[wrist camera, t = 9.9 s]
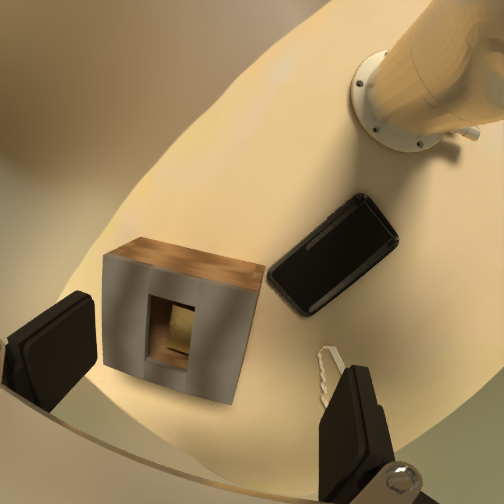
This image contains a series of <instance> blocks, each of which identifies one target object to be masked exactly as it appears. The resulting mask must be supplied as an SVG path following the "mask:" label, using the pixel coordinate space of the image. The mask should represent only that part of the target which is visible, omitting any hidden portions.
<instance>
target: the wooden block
mask: <svg viewBox="0 0 504 504" xmlns="http://www.w3.org/2000/svg"><path fill="white" fill-rule="evenodd" d="M194 314H195V307H194V306H190V305H186V304H183V303H179V302H175V303H174V304H173V307H172V313H171V319H170V325H169V331H168V337H167V344H166V346H167V347H170V348H173V349H176V350H178V351H181V352H184V353H187V354H189V350H190V343H191V335H192V328H193V321H194Z"/></svg>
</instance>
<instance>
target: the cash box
mask: <svg viewBox="0 0 504 504" xmlns="http://www.w3.org/2000/svg"><path fill="white" fill-rule="evenodd" d="M264 270H265V266H263V265H258V264H254V263H250V262H245V261H241V260H237V259H232V258H228V257H224V256H219V255H215V254H211V253H207V252H202V251H198V250H194V249H189V248H185V247H181V246H177V245H173V244H168V243H164V242H160V241H156V240H151V239H147V238H143V237H139V238H137V239H135V240H133V241H131V242H129V243H127V244H125V245H123V246H121V247H119V248H117V249H115V250H112V251H110V252H108V253H106V254H104V255H103V271H102V345H103V364H104V365H106V366H108V367H111V368H113V369H116V370H119V371H121V372H124V373H127V374H129V375H132V376H135V377H138V378H141V379H143V380H146V381H149V382H152V383H155V384H158V385H161V386H164V387H167V388H171V389H174V390H177V391H180V392H184V393H187V394H191V395H194V396H198V397H201V398H205V399H209V400H212V401H216V402H220V403H224V404H228V405H232V402H233V398H234V395H235V391H236V387H237V383H238V379H239V376H240V372H241V368H242V364H243V360H244V356H245V352H246V348H247V343H248V339H249V335H250V331H251V326H252V322H253V318H254V313H255V309H256V305H257V300H258V296H259V292H260V287H261V283H262V278H263V274H264ZM175 302H179V303H183V304H186V305H190V306H194V307H195V314H194V321H193V328H192V335H191V343H190V350H189V354H187V353H184V352H181V351H178V350H176V349H173V348H170V347H167V346H166V344H167V337H168V331H169V325H170V319H171V313H172V307H173V304H174V303H175Z"/></svg>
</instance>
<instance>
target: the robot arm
mask: <svg viewBox="0 0 504 504" xmlns="http://www.w3.org/2000/svg"><path fill="white" fill-rule="evenodd" d="M356 84H359V85H360V87H358V86H357V85H356ZM351 99H352V105H353V108H354V111H355V114H356V116H357V118H358V120H359V122H360V123H361V125H362V126H363V128H364V129H365V130H366V131H367V133H368V134H369V135H370V136H372V137H373V138H374V139H375V140H376V141H377V142H379V143H381V144H382V145H384V146H385V147H388V148H390V149H393V150H396V151H400V152H420V151H423V150H426V149H429V148H430V147H432V146H434V145H436V144H437V143H438V142H439V141H440V140H441V139H442V137H443V136H444V134H445V133H446V132H449V133H452V134H454V133H456V132H457V133H459V134H461V135H462V136H464V137H466V138H468V139H470V140H473V141H477V140H478V138H479V136H480V128H479V127H478V126H477V125H482V124H487V123H493V122H498V121H501V120H504V0H433V1H432V2H431V3H430V4H429V6H428V7H427V8H426V9H425V10H424V12H423V13H422V14H421V15H420V16H419V17H418V18H417V20H416V21H415V22H414V23H413V24H412V25H411V26H410V28H409V29H408V30H407V31H406V32H405V33H404V35H403V36H402V37H401V38H400V39H399V40H398V42H397V43H396V44H395V45H394V46H393V48H392V49H390V50H382V51H379V52H376V53H374V54H372V55H370V56H369V57H367V58H366V59H365V60H364V61H363V62H362V63H361V64H360V65H359V67H358V68H357V70H356V72H355V74H354V76H353V80H352V84H351ZM373 128H375V129H376V132H373ZM417 143H418V144H419V147H418V146H417ZM7 339H8V344H7V345H5V344H4V342H3V341H2V340H1V339H0V504H439V503H437V502H436V501H435V500H433V499H431V498H430V497H429V496H427V495H426V494H424V493H423V492H422V491H421V488H422V486H423V479H422V476H421V474H420V472H419V471H418V470H417V469H416V468H415V467H413V466H412V465H411V464H408V463H406V462H401V461H395V457H394V452H393V448H392V443H391V439H390V434H389V430H388V426H387V422H386V418H385V414H384V410H383V407H382V406H381V405H378V404H377V400H376V396H375V391H374V388H373V384H372V380H371V376H370V372H369V369H368V367H364V366H358V365H351V367H350V368H345V369H344V371H343V374H342V376H341V378H340V380H339V383H338V385H337V387H336V389H335V391H334V393H333V396H332V398H331V400H330V402H329V404H328V406H327V408H326V410H325V412H324V414H323V416H322V418H321V421H320V424H319V496H318V498H319V501H313V500H306V499H298V498H292V497H285V496H279V495H273V494H268V493H263V492H258V491H253V490H248V489H243V488H238V487H234V486H230V485H226V484H222V483H218V482H214V481H210V480H207V479H203V478H200V477H196V476H193V475H189V474H187V473H183V472H180V471H177V470H174V469H171V468H168V467H165V466H162V465H159V464H157V463H154V462H151V461H149V460H146V459H143V458H141V457H138V456H136V455H133V454H131V453H128V452H126V451H124V450H121V449H119V448H117V447H114V446H112V445H110V444H108V443H105V442H103V441H101V440H99V439H97V438H95V437H93V436H91V435H89V434H87V433H85V432H83V431H81V430H79V429H77V428H75V427H73V426H71V425H69V424H67V423H66V422H64V421H62V420H60V419H58V418H57V417H55V416H53V415H51V414H50V412H51V411H52V410H53V409H54V408H55V406H56V405H57V404H58V403H59V402H60V401H61V400H62V399H63V398H64V397H65V396H66V394H67V393H68V392H69V391H70V390H71V389H72V388H73V387H74V386H75V385H76V384H77V383H78V381H79V380H80V379H81V378H82V377H83V376H84V375H85V374H86V373H87V372H88V371H89V370H90V369H91V368H92V367H93V366H94V364H95V363H96V361H97V343H96V327H95V304H94V300H92V297H91V296H90V295H89V294H87V293H84V292H81V291H78V290H77V291H75V292H73V293H72V294H70V295H68V296H67V297H65V298H64V299H62V300H61V301H59V302H58V303H56V304H55V305H53V306H52V307H50V308H49V309H47V310H46V311H44V312H43V313H42V314H40V315H39V316H37V317H36V318H34V319H33V320H31V321H30V322H28V323H27V324H26V325H24V326H23V327H21V328H20V329H18V330H17V331H16V332H14V333H13V334H11V335H10V336H9V337H7Z"/></svg>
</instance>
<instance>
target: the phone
mask: <svg viewBox="0 0 504 504" xmlns="http://www.w3.org/2000/svg"><path fill="white" fill-rule="evenodd" d="M398 244H399V236H398V234H397V233H396V232H395V230H394V229H393V227H392V226H391V225H390V223H389V222H388V221H387V219H386V218H385V217H384V215H383V214H382V213H381V211H380V210H379V209H378V207H377V206H376V205H375V204H374V202H373V201H372V200H371V198H370V197H369V196H368V195H366V194H362V193H359V194H356V195H355V196H353V197H352V198H351V199H350V200H348V201H347V202H346V203H345V204H344V205H343V206H341V207H340V208H339V209H337V210H336V211H335V213H334V214H333V213H332V214H331V215H330V216H329V217H328V219H327V220H325V221H324V222H323V223H322V224H321V225H320V226H318V227H317V228H316V229H315V230H314V231H312V232H311V233H310V234H309V235H308V236H307V237H305V238H304V239H303V240H302V241H301V242H299V243H298V244H297V245H296V246H295V247H294V248H292V249H291V250H290V251H289V252H288V253H286V254H285V255H284V256H283V257H282V258H280V259H279V260H278V261H277V262H276V263H274V264H273V265H272V266H271V267H270V268H269V270H268V274H267V277H268V279H269V281H270V282H271V283H272V284H273V285H274V287H275V288H276V289H277V290H278V291H279V292H280V293H281V294H282V295H283V296H284V297H285V299H286V300H287V301H288V302H289V303H290V304H291V305H292V306H293V307H294V308H295V309H296V311H297V312H298V313H299V314H300V315H302V316H304V317H309V316H312V315H313V314H315V313H316V312H317V311H319V310H320V309H321V308H323V307H324V306H325V305H327V304H328V303H329V302H330V301H332V300H333V299H334V298H336V297H337V296H338V295H339V294H341V293H342V292H343V291H344V290H346V289H347V288H348V287H349V286H351V285H352V284H353V283H354V282H356V281H357V280H358V279H359V278H361V277H362V276H363V275H364V274H365V273H367V272H368V271H369V270H370V269H372V268H373V267H374V266H375V265H376V264H378V263H379V262H380V261H381V260H382V259H383V258H385V257H386V256H387V255H388V254H389V253H390V252H392V251H393V250H394V249H395V248H396V247H397V246H398Z"/></svg>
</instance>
